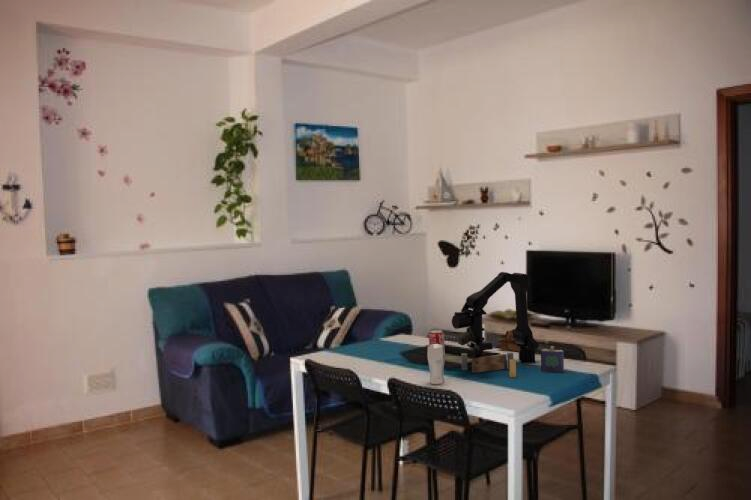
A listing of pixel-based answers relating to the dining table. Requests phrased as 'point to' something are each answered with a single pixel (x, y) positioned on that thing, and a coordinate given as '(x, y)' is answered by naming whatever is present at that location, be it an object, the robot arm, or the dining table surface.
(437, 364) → the beer glass
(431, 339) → the soda can
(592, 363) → the dining table surface
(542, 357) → the flask
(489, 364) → the brown wooden plank
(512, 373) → the frame
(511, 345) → the wooden carving
